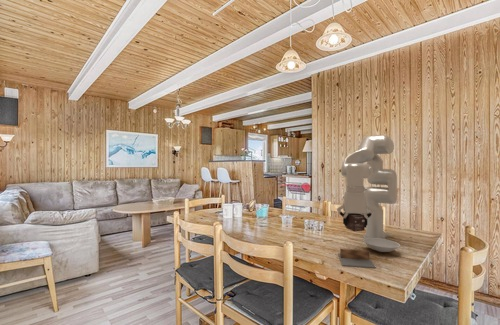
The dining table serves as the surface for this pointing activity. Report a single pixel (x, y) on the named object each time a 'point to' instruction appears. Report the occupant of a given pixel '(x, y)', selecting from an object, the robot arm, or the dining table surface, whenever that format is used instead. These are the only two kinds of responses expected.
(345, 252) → the walnut rail
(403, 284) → the dining table surface
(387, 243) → the dish
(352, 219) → the box
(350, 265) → the rubber mat
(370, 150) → the robot arm
